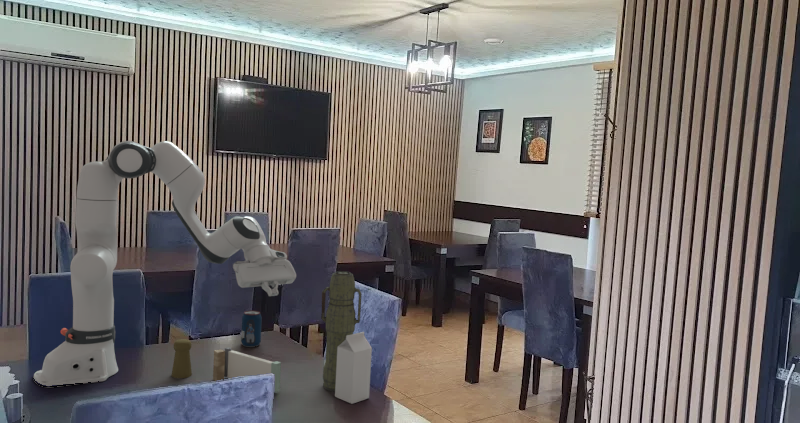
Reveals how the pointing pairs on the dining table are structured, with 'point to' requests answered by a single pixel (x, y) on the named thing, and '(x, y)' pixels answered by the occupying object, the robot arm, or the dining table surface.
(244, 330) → the soda can
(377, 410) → the dining table surface
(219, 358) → the gate post
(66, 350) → the robot arm
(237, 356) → the gate
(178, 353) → the cork
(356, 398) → the milk carton
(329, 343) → the thermos
